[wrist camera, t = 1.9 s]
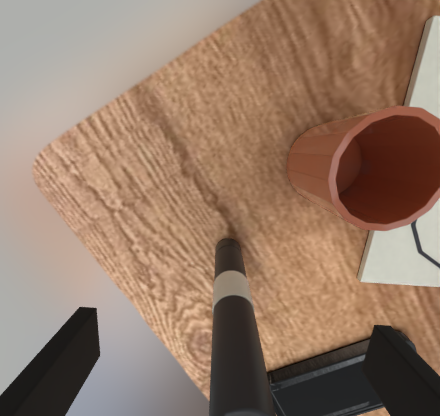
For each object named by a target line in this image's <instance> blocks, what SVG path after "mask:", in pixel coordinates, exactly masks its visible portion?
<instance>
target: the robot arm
mask: <svg viewBox="0 0 440 416" xmlns="http://www.w3.org/2000/svg"><path fill="white" fill-rule="evenodd" d="M99 356H100V347H99V335H98V322H97V309H96V308H88V307H79V309H77V311H76V312H75V313H74V314H73V315H72V316H71V317H70V318H69V319H68V321H67V322H66V323H65V324H64V325H63V326H62V327H61V329H60V330H59V331H58V332H57V333H56V334H55V335H54V336H53V337H52V339H51V340H50V341H49V342H48V343H47V344H46V345H45V347H44V348H43V349H42V350H41V351H40V352H39V353H38V354H37V355H36V356H35V358H34V359H33V360H32V361H31V362H30V363H29V364H28V365H27V366H26V368H25V369H24V370H23V371H22V372H21V373H20V374H19V375H18V377H17V378H16V379H15V380H14V381H13V382H12V383H11V384H10V385H9V387H8V388H7V389H6V390H5V391H4V392H3V393H2V394H1V396H0V416H65V415H66V413H67V411H68V410H69V408H70V406H71V404H72V403H73V401H74V399H75V398H76V396H77V394H78V393H79V391H80V389H81V387H82V386H83V384H84V382H85V380H86V379H87V377H88V375H89V374H90V372H91V370H92V368H93V367H94V365H95V363H96V362H97V360H98V358H99ZM361 371H362V373H363V374H364V376H365V377H366V379H367V380H368V382H369V383H370V385H371V386H372V388H373V390H374V391H375V393H376V394H377V396H378V397H379V399H380V400H381V402H382V403H383V405H384V407H385V408H386V410H387V411H388V413H389V414H390V416H440V376H439V375H438V374H437V373H436V372H435V371H434V370H433V369H432V368H431V367H430V366H429V365H428V364H427V363H426V362H425V361H424V360H423V359H422V358H421V357H420V356H419V355H418V354H417V353H416V352H415V351H414V350H413V349H412V348H411V347H410V346H409V344H408V343H407V342H406V341H405V340H404V339H403V338H402V337H401V336H400V335H399V334H398V333H397V332H396V331H395V330H394V329H393V328H392V327H391V326H384V325H374V328H373V332H372V335H371V338H370V342H369V345H368V348H367V351H366V355H365V358H364V361H363V365H362V368H361Z"/></svg>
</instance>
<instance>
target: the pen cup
mask: <svg viewBox="0 0 440 416" xmlns="http://www.w3.org/2000/svg"><path fill="white" fill-rule="evenodd" d="M287 174H288V178H289V181H290V183H291V185H292V186H293V188H294V189H295V190H296V191H297V192H298V193H299V194H300V195H301V196H303V197H305V198H307V199H308V200H310V201H312V202H314V203H315V204H317V205H319V206H321V207H322V208H324V209H326V210H328V211H329V212H331V213H333V214H335V215H336V216H338V217H340V218H342V219H343V220H345V221H347V222H349V223H351V224H353V225H355V226H357V227H359V228H361V229H363V230H374V231H389V230H392V229H396V228H399V227H402V226H406V225H409V224H411V223H412V222H414V221H415V220H416V219H418V218H419V217H421V216H422V215H424V214H425V213H427V212H428V211H429V210H431V208H432V207H433V206H434V205H435V203H436V202H437V201H438V199H439V198H440V119H439V118H437V117H436V116H434V115H433V114H431V113H429V112H428V111H426V110H425V109H423V108H420V107H409V106H397V105H396V106H391V107H387V108H383V109H379V110H375V111H371V112H367V113H363V114H359V115H355V116H351V117H347V118H343V119H339V120H335V121H331V122H327V123H324V124H321V125H317V126H315V127H312V128H310V129H309V130H307V131H306V132H304V133H303V134H302V135H301V136H300V137H299V138H298V139H297V140H296V141H295V143H294V144H293V146H292V148H291V150H290V152H289V155H288V159H287Z"/></svg>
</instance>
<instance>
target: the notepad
mask: <svg viewBox="0 0 440 416" xmlns="http://www.w3.org/2000/svg"><path fill="white" fill-rule="evenodd" d="M404 106H409V107H420V108H423V109H425V110H426V111H428V112H429V113H431V114H433V115H434V116H436V117H437V118H439V119H440V16H433V17H431V18H430V19H428V20H427V21H426V24H425V28H424V31H423V35H422V39H421V43H420V46H419V50H418V54H417V57H416V61H415V65H414V68H413V72H412V76H411V80H410V83H409V87H408V91H407V94H406V98H405V102H404ZM357 279H358V280H359V281H360V282H370V283H385V284H400V285H416V286H431V287H440V198H439V199H438V201H437V202H436V203H435V205H434V206H433V207H432V208H431V210H429V211H428V212H427V213H425V214H424V215H422V216H421V217H419V218H418V219H416V220H415V221H414V222H412V223H411V224H409V225H406V226H402V227H399V228H396V229H392V230H389V231H374V230H370V232H369V235H368V239H367V243H366V246H365V250H364V254H363V257H362V261H361V265H360V269H359V272H358V276H357Z"/></svg>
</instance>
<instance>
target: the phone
mask: <svg viewBox="0 0 440 416" xmlns="http://www.w3.org/2000/svg"><path fill="white" fill-rule="evenodd" d="M396 332H397V333H398V334H399V335H400V336H401V337H402V338H403V339H404V340H405V341H406V342H407V343H408V344H409V346H410V347H411V348H412V349H413V350H414V351H415V352H416V348H415V345H414V344H413V343H412V342H411V341H410V340H409V339H408V338H407V337H406V336H405V335H404V334H403V333H402V332H399V331H396ZM369 342H370V339H369V340H366V341H363V342H360V343H357V344H354V345H351V346H348V347H345V348H342V349H339V350H336V351H333V352H330V353H327V354H324V355H321V356H318V357H315V358H312V359H309V360H306V361H303V362H300V363H297V364H294V365H291V366H288V367H285V368H282V369H279V370H276V371H273V372H270V373H268V374H267V376H268V381H269V386H270V390H271V395H272V400H273V405H274V409H275V413H276V415H277V416H357V415H360V414H363V413H367V412H370V411H373V410H377V409H380V408H383V407H384V405H383V403H382V402H381V400H380V399H379V397H378V396H377V394H376V393H375V391H374V390H373V388H372V386H371V385H370V383H369V382H368V380H367V379H366V377H365V376H364V374H363V373H362V371H361V368H362V365H363V361H364V358H365V355H366V351H367V348H368V345H369ZM416 353H417V352H416Z"/></svg>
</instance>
